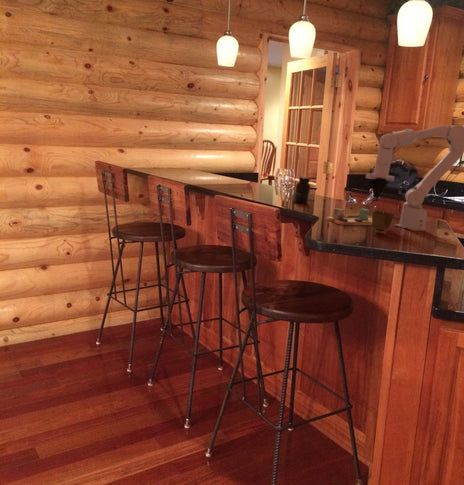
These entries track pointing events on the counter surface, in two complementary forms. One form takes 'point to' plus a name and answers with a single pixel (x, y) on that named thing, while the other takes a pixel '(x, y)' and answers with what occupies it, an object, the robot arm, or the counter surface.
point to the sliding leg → (364, 214)
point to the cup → (381, 221)
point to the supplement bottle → (302, 191)
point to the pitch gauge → (347, 219)
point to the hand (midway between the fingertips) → (376, 197)
